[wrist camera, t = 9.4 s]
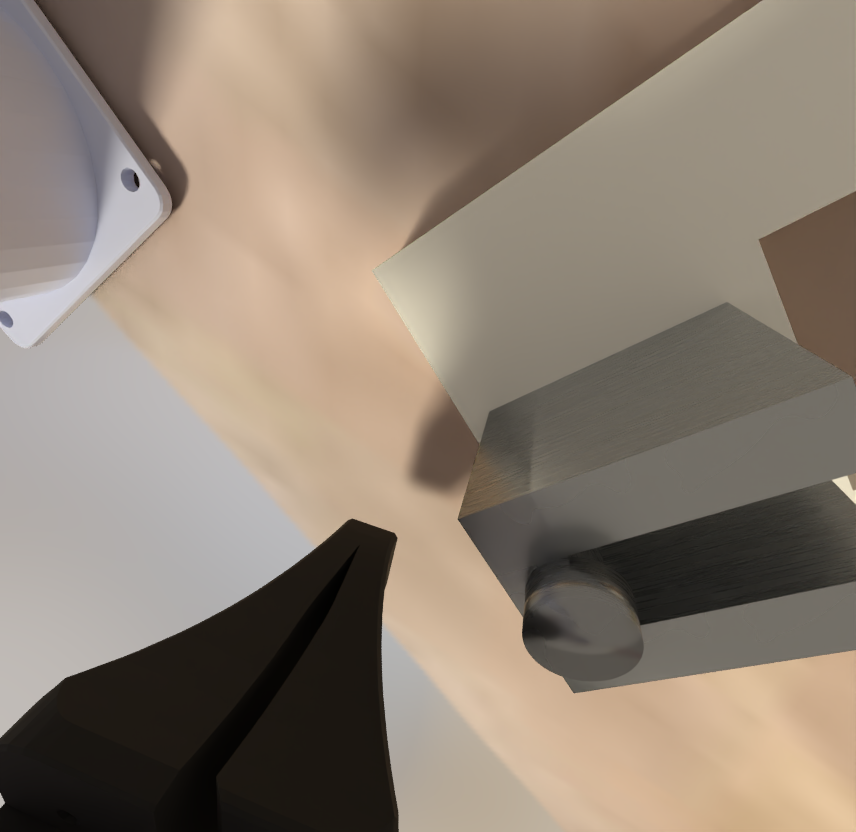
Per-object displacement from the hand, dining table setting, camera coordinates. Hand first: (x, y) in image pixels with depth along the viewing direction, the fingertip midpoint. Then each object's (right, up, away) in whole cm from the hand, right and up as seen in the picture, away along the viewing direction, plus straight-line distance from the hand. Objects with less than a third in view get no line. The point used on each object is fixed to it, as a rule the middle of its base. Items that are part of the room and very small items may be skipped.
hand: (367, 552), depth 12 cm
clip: (+6, +3, -3) cm, 7 cm away
